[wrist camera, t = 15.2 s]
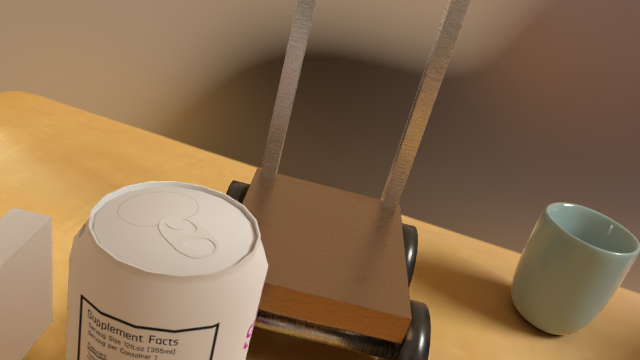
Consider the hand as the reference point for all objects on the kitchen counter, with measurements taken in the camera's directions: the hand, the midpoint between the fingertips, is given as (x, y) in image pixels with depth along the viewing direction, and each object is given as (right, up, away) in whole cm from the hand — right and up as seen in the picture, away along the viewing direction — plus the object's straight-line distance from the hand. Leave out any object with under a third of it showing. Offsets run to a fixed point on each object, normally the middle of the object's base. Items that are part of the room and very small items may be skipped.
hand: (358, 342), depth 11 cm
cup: (+19, -9, +39) cm, 44 cm away
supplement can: (-10, -12, +18) cm, 24 cm away
